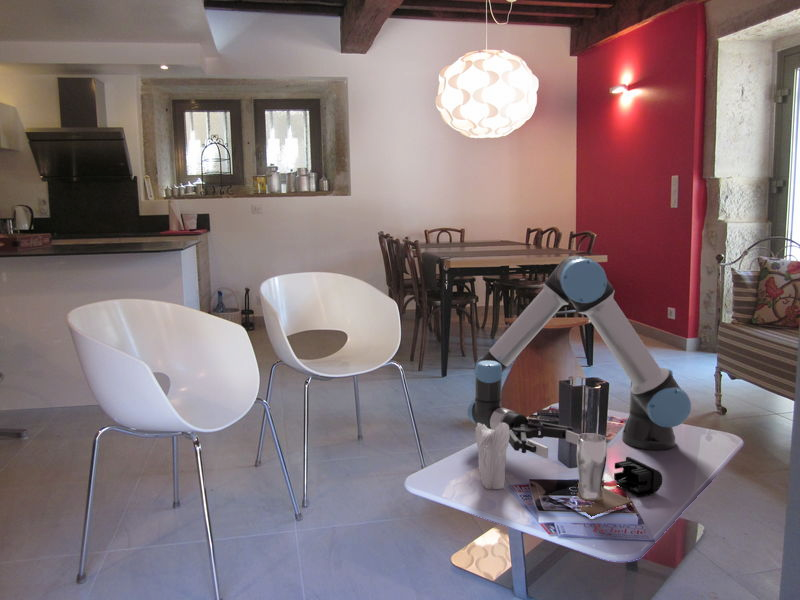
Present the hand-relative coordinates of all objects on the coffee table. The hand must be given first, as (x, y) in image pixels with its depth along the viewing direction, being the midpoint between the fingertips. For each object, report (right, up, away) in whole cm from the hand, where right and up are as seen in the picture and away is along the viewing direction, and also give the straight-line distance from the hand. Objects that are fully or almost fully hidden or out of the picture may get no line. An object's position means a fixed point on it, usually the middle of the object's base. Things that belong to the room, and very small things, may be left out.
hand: (566, 447), depth 169 cm
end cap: (+18, -11, +2) cm, 22 cm away
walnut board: (+4, -12, -5) cm, 14 cm away
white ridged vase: (-18, -11, +3) cm, 22 cm away
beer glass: (+4, -11, -5) cm, 13 cm away
